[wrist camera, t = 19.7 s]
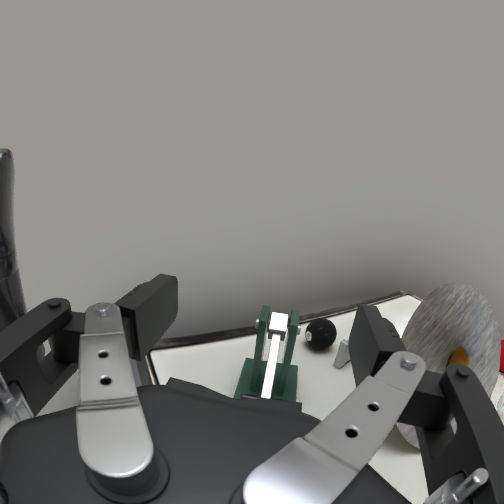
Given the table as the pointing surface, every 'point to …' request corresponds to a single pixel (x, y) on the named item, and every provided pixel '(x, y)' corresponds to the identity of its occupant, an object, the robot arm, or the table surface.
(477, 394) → the robot arm
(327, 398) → the table surface
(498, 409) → the mug
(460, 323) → the upside-down potted plant
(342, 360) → the grey tape dispenser
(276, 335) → the switch lever
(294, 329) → the switch bracket
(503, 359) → the apple
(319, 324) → the billiard ball
